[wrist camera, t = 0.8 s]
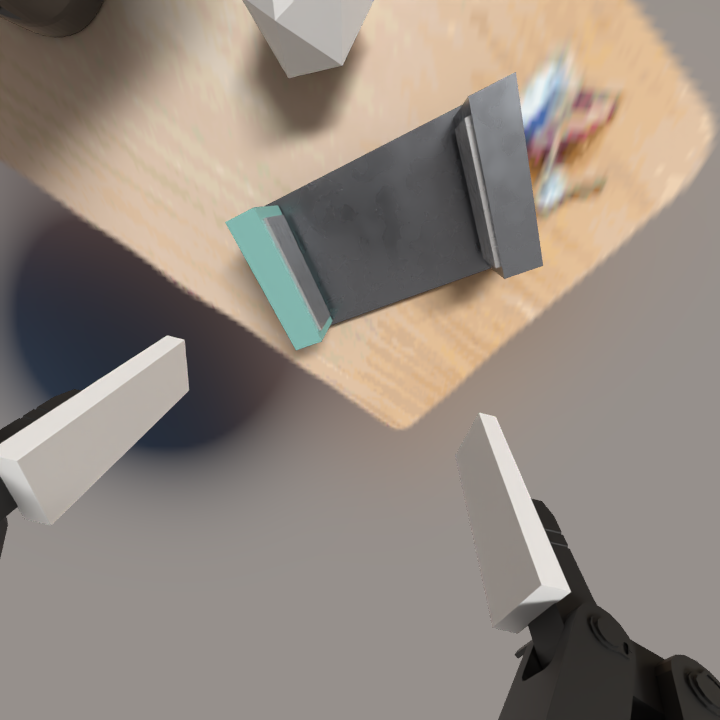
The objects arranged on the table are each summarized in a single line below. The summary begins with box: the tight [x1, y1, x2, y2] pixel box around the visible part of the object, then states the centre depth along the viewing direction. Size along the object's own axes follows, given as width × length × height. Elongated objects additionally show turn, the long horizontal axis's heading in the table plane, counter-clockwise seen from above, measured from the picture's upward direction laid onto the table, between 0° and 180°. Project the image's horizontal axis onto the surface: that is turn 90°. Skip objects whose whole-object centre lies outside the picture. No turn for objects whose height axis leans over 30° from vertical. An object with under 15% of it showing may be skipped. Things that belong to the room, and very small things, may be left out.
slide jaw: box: [225, 205, 332, 350], centre depth 31 cm, size 13×3×6 cm, turn 23°
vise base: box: [264, 72, 543, 325], centre depth 29 cm, size 14×26×8 cm, turn 113°
